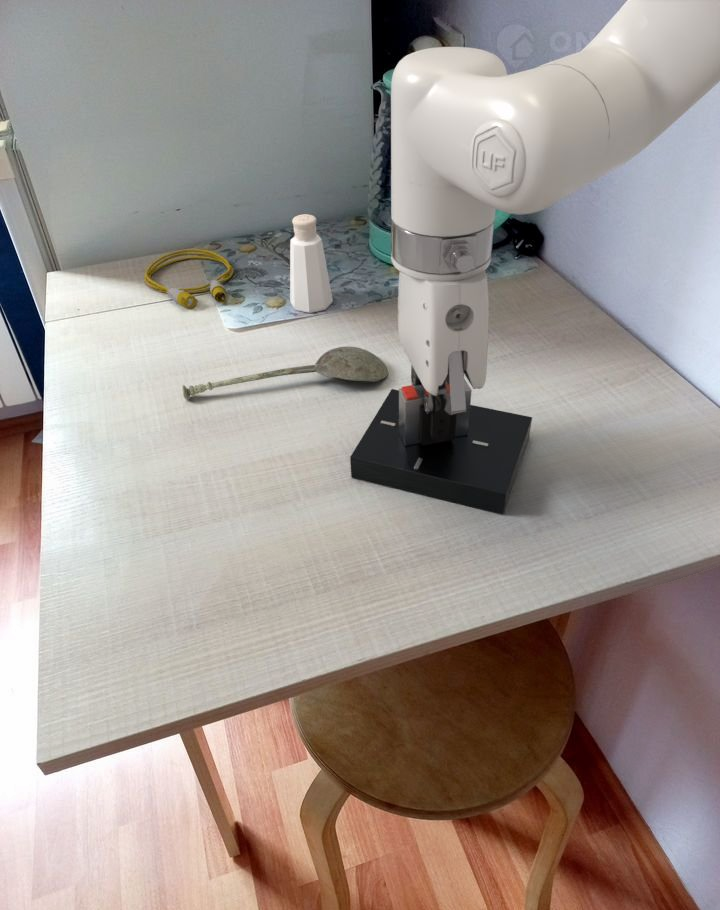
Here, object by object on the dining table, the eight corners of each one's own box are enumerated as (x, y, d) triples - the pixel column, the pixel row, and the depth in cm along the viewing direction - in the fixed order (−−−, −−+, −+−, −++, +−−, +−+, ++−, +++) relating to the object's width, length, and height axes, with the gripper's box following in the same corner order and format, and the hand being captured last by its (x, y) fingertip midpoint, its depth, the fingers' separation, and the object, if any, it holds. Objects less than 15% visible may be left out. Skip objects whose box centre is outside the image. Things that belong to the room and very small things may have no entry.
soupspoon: (394, 391, 75) (380, 361, 80) (395, 364, 73) (381, 334, 78) (184, 416, 72) (184, 382, 77) (179, 388, 70) (179, 355, 75)
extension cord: (129, 312, 89) (125, 298, 87) (157, 257, 101) (154, 244, 99) (225, 310, 88) (223, 295, 87) (242, 255, 100) (240, 241, 99)
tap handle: (460, 421, 66) (464, 375, 62) (467, 434, 64) (472, 387, 61) (398, 432, 65) (398, 386, 61) (404, 446, 63) (405, 399, 60)
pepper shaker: (292, 292, 91) (283, 209, 84) (334, 292, 91) (329, 208, 84) (287, 313, 87) (277, 227, 80) (331, 313, 87) (325, 227, 80)
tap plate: (529, 437, 68) (532, 415, 66) (503, 515, 60) (506, 492, 58) (391, 408, 72) (391, 387, 70) (351, 477, 64) (349, 455, 63)
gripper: (532, 281, 47) (503, 482, 59) (454, 195, 59) (444, 378, 71) (424, 297, 46) (418, 498, 58) (367, 206, 58) (371, 389, 70)
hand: (432, 431), depth 64 cm, fingers closed on tap handle, 2 cm apart
